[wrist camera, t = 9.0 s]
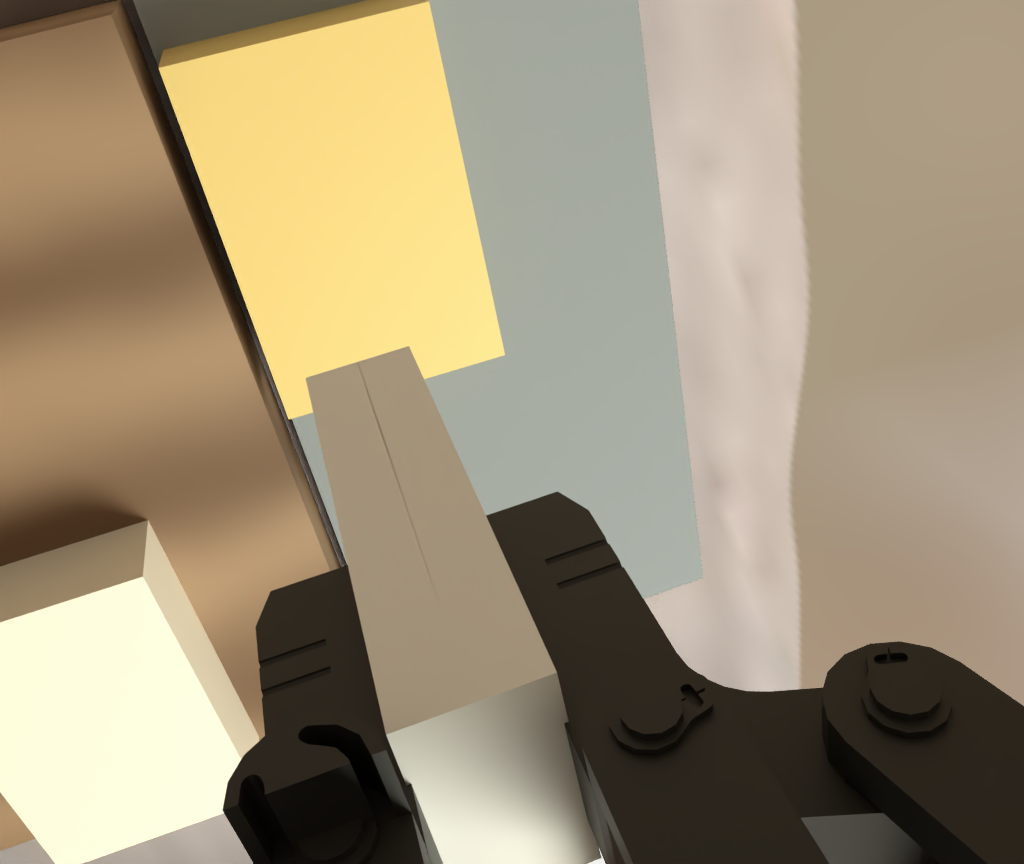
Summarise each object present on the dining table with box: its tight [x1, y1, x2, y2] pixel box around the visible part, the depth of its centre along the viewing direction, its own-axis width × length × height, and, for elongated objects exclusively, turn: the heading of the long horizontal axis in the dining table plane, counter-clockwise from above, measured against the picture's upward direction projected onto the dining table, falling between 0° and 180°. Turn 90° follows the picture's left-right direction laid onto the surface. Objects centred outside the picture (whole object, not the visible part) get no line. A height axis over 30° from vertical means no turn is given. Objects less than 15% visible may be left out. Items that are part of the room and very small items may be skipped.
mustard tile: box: [159, 0, 505, 419], centre depth 24 cm, size 9×6×2 cm, turn 11°
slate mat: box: [133, 0, 703, 599], centre depth 29 cm, size 24×12×1 cm, turn 11°
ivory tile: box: [0, 520, 259, 864], centre depth 27 cm, size 9×6×2 cm, turn 11°
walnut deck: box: [0, 0, 341, 851], centre depth 26 cm, size 22×14×3 cm, turn 11°
